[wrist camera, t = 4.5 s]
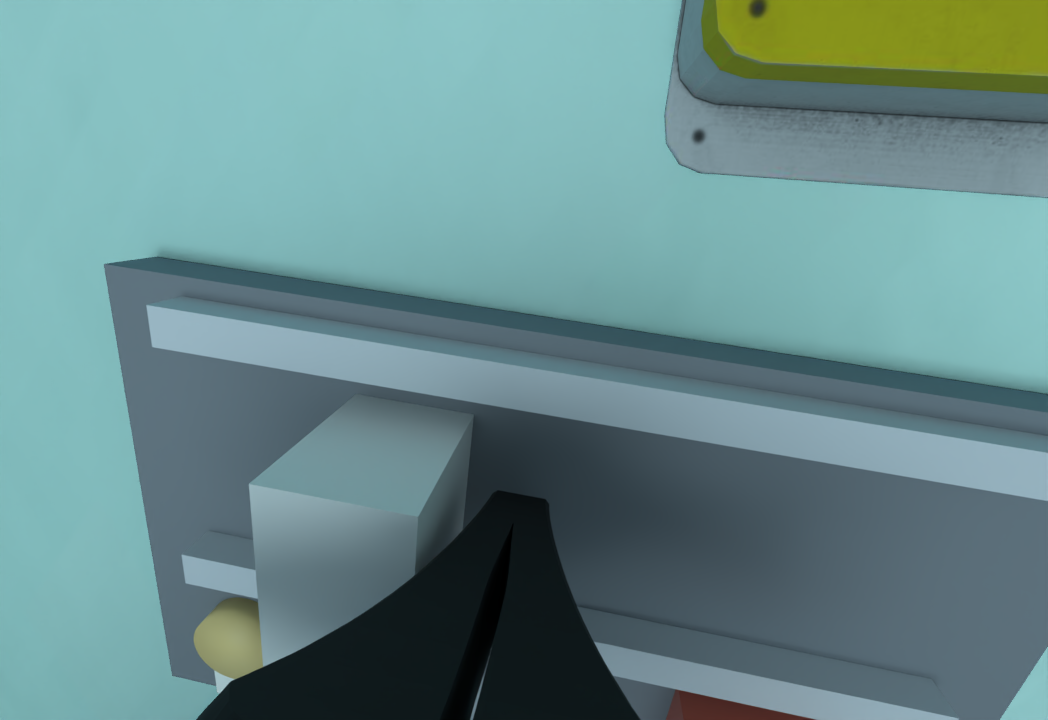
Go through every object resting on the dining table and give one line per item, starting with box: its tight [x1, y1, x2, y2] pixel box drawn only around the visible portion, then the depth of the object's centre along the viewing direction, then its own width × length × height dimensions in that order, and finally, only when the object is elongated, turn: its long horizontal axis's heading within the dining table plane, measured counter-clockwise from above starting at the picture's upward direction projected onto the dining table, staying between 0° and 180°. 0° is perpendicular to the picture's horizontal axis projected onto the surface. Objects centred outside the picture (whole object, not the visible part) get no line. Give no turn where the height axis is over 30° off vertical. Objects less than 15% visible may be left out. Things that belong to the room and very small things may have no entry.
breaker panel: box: [104, 257, 1048, 720], centre depth 13 cm, size 14×24×2 cm, turn 83°
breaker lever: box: [249, 394, 474, 667], centre depth 11 cm, size 4×3×4 cm
